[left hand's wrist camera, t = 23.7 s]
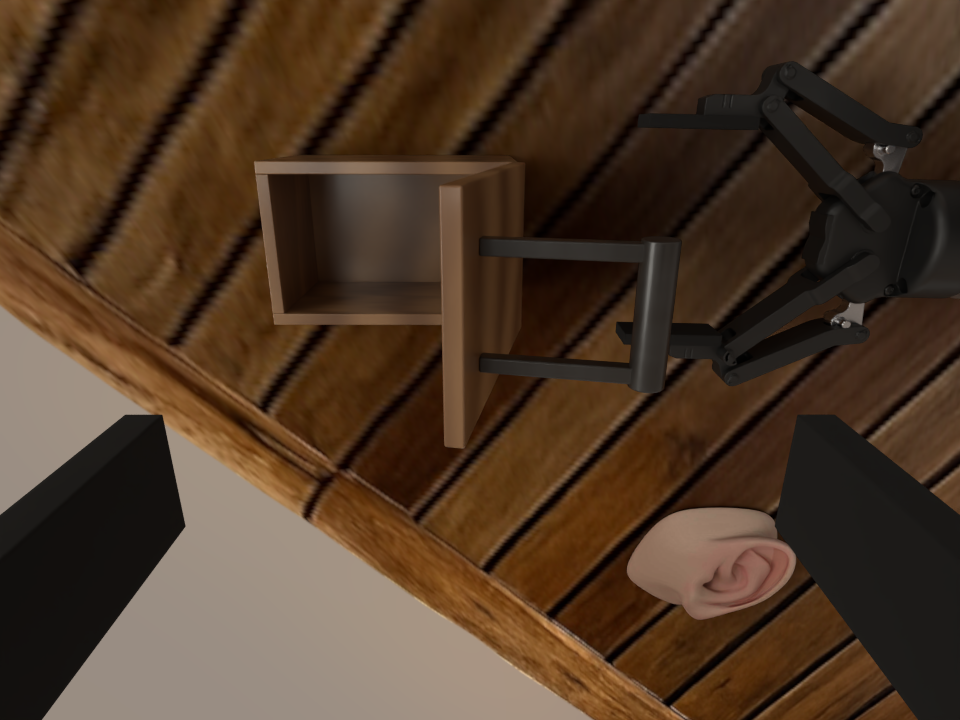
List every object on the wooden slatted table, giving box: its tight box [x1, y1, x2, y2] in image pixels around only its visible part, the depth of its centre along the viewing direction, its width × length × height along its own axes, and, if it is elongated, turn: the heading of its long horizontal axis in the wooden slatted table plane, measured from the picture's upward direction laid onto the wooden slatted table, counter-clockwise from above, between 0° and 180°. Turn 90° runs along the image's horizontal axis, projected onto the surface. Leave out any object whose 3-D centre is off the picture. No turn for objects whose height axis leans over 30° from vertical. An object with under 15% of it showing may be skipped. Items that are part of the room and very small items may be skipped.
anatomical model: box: [627, 508, 796, 620], centre depth 55 cm, size 13×4×12 cm
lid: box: [439, 162, 682, 448], centre depth 28 cm, size 16×10×8 cm
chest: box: [254, 155, 517, 325], centre depth 41 cm, size 15×10×10 cm, turn 90°
